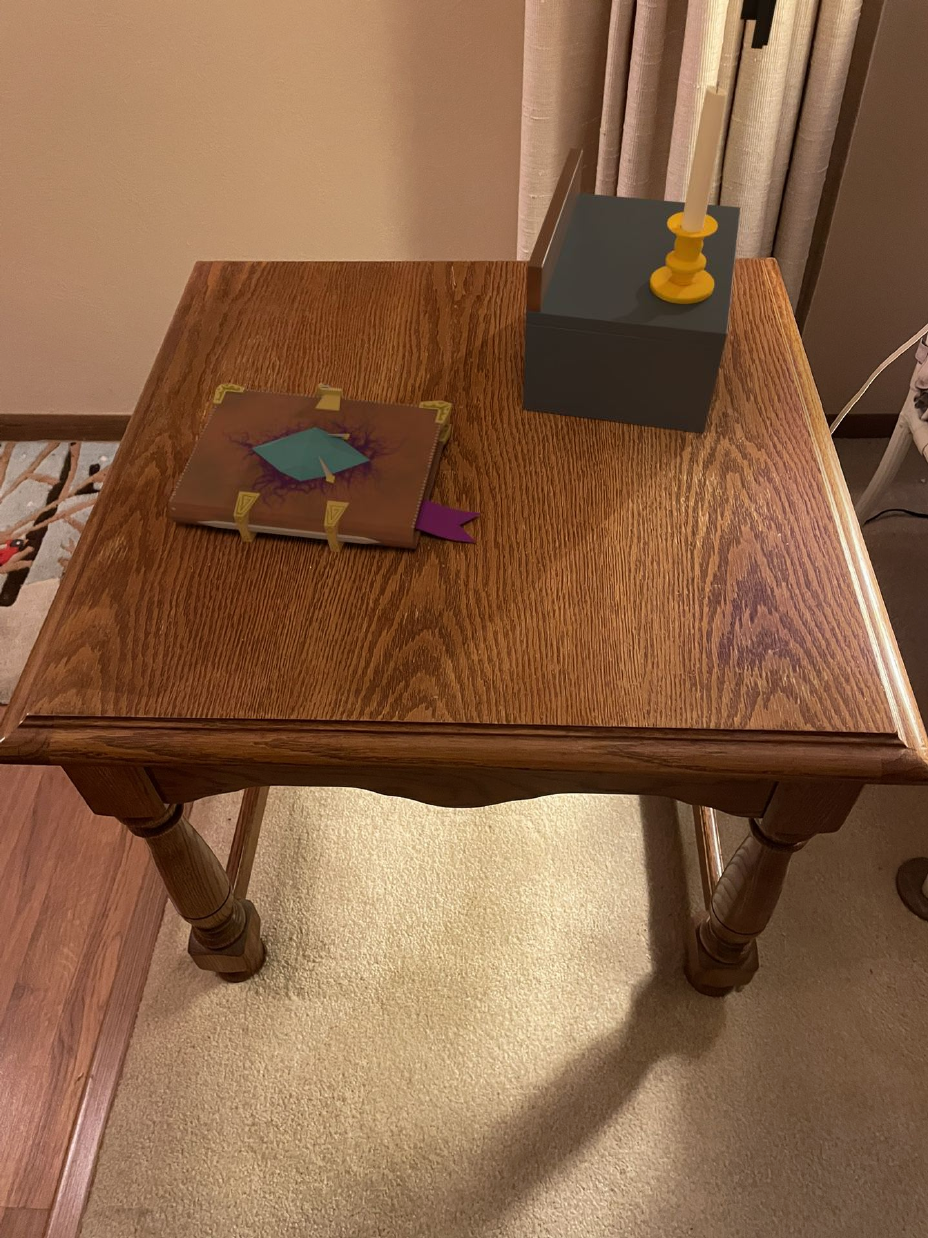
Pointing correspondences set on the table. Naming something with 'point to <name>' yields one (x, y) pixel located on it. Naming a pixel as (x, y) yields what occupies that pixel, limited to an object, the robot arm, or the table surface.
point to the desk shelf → (621, 311)
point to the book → (319, 469)
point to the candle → (694, 215)
